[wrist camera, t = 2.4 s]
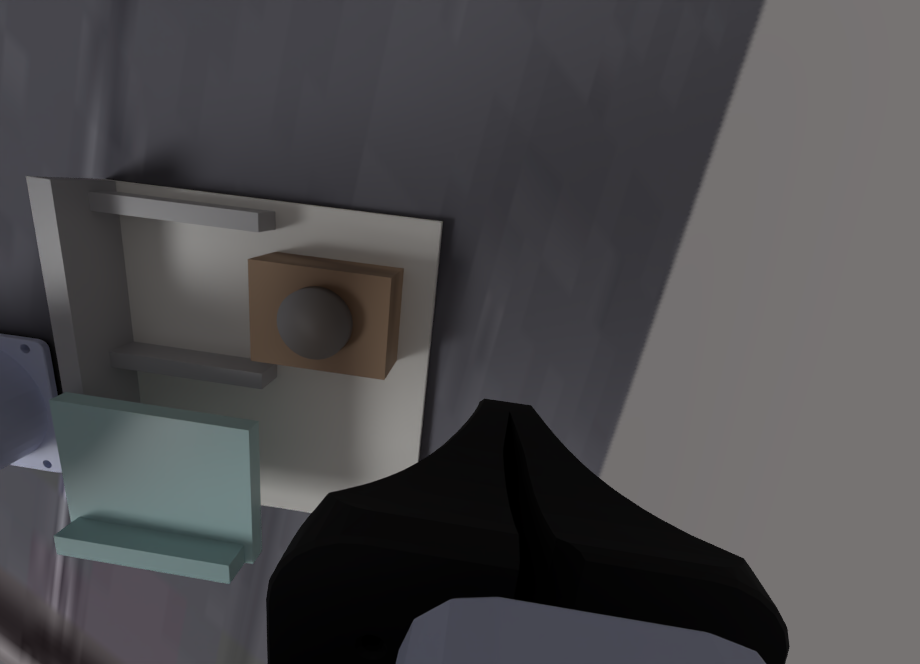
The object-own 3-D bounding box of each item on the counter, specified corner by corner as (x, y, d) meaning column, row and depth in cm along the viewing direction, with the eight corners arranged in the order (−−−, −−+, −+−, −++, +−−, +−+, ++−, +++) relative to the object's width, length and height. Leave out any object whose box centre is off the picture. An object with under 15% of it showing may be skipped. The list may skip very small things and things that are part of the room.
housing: (140, 478, 26) (85, 522, 23) (103, 178, 21) (25, 176, 18) (412, 522, 25) (398, 574, 22) (442, 220, 20) (430, 227, 17)
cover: (87, 521, 22) (48, 552, 20) (66, 391, 20) (19, 412, 18) (261, 550, 22) (238, 585, 20) (258, 421, 19) (232, 445, 18)
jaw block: (276, 343, 22) (243, 365, 19) (276, 251, 21) (239, 261, 18) (396, 360, 22) (380, 385, 19) (403, 268, 20) (387, 280, 18)
